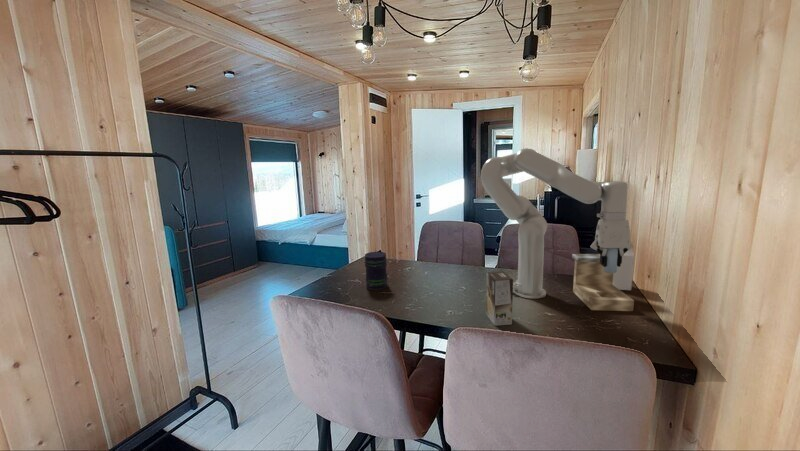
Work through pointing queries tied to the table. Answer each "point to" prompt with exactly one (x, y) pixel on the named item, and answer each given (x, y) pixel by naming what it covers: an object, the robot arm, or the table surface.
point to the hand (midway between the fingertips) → (610, 265)
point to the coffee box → (499, 298)
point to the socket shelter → (597, 285)
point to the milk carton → (624, 272)
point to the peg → (611, 260)
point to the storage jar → (376, 270)
